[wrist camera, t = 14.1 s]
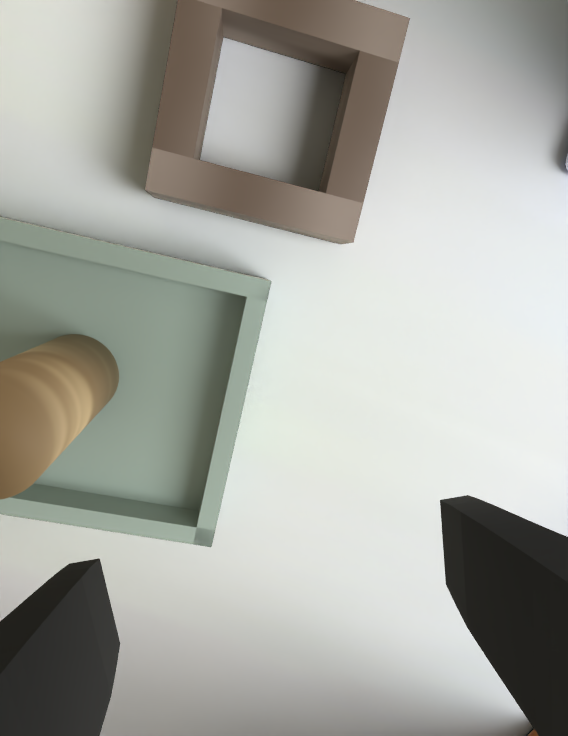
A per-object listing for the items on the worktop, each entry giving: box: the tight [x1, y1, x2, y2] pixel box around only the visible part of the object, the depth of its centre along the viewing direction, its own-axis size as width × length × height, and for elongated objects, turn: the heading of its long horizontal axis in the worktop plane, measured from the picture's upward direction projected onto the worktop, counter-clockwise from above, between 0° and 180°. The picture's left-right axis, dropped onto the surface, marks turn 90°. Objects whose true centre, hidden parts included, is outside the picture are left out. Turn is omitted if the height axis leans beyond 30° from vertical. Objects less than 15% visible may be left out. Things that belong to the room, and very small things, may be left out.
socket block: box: [145, 0, 410, 244], centre depth 17 cm, size 7×7×2 cm
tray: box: [0, 217, 271, 547], centre depth 18 cm, size 12×10×2 cm
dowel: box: [0, 334, 119, 499], centre depth 15 cm, size 3×3×7 cm
